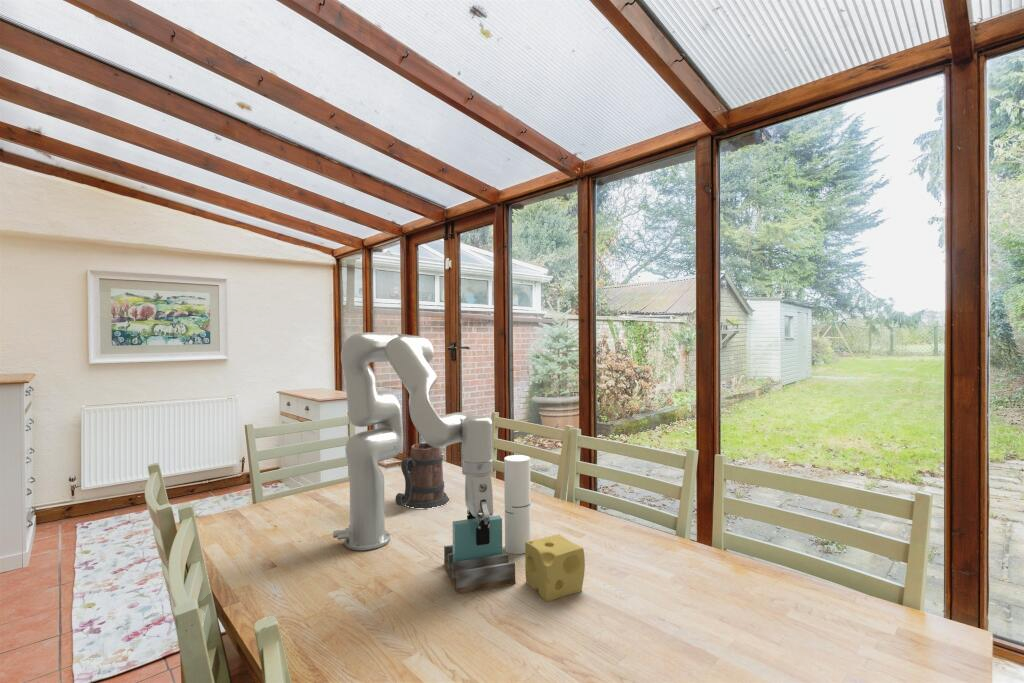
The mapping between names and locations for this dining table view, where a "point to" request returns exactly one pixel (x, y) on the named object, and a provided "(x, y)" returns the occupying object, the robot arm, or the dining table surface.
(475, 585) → the rack
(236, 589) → the dining table surface
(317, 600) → the dining table surface
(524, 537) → the cylindrical container
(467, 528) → the teal slab
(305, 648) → the dining table surface
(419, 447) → the tankard
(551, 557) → the cheese
